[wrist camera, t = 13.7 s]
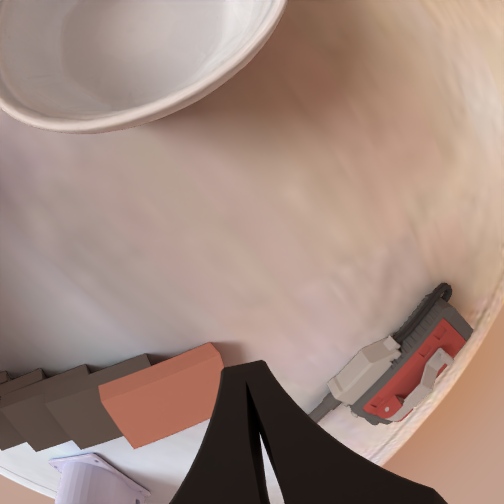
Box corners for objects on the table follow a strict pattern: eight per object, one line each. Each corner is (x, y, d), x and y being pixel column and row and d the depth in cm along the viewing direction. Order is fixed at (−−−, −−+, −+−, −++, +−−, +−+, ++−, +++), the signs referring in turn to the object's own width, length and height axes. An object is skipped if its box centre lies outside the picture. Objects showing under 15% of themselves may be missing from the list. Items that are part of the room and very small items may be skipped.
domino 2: (88, 375, 18) (-1, 408, 14) (117, 422, 19) (36, 452, 16) (85, 363, 19) (1, 395, 15) (112, 410, 21) (34, 438, 17)
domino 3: (151, 365, 18) (44, 403, 15) (175, 415, 20) (81, 449, 16) (145, 353, 19) (45, 389, 16) (168, 402, 21) (78, 435, 18)
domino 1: (42, 379, 17) (-33, 408, 13) (71, 423, 19) (1, 450, 15) (40, 368, 19) (-31, 397, 14) (68, 412, 20) (1, 438, 16)
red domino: (220, 353, 18) (101, 401, 15) (235, 405, 20) (134, 449, 17) (209, 342, 20) (98, 385, 16) (225, 393, 21) (129, 433, 18)
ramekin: (68, -41, 10) (29, -91, 3) (269, -48, 12) (301, -112, 5) (29, 143, 14) (-46, 150, 7) (250, 142, 16) (282, 139, 10)
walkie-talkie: (423, 261, 21) (264, 435, 24) (461, 285, 17) (274, 474, 20) (464, 308, 24) (328, 451, 27) (494, 331, 20) (341, 482, 23)
